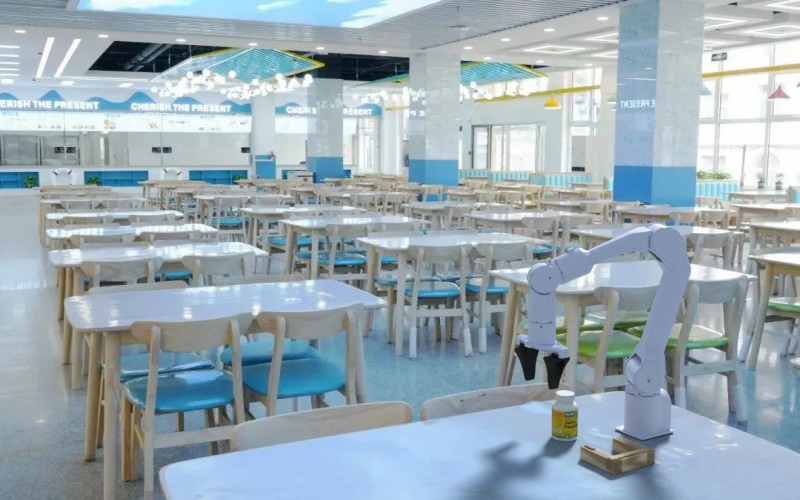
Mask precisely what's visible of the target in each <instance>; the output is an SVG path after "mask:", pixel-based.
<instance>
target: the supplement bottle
mask: <svg viewBox="0 0 800 500" xmlns="http://www.w3.org/2000/svg"><path fill="white" fill-rule="evenodd" d="M554 399H555V401H553V402H552V404H551V437H552V438H553V439H554V440H556V441H559V442H568V443H569V442H573V441H576V440H577V439H578V433H579V432H578V431H579V430H578V427H579V423H578V422H579V406H578V403H576V401H575V399H576V394H575V391H572V390H566V389H565V390H563V389H562V390H557V391H555V392H554Z"/></svg>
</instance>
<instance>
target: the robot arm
mask: <svg viewBox="0 0 800 500" xmlns="http://www.w3.org/2000/svg"><path fill="white" fill-rule="evenodd" d="M687 244H688V243H687V241H686V240H685V238H684V237H683V236H682V235H681V233H680V232H679V231H678V230H677V229H676V228H674V227H671V226H667V225H664V224H663V223H660V222H651V223H648V224H647V225H645V226H639V227H636V228H634V229H631V230H629V231H626V232H623V233H622V234H619V235H618V236H616V237H614V238H612V239H610V240H608V241H605V242H603V243H601V244H599V245H597V246H595V247H592V248H590V249H588V250H586V249H584V248H582V247H577V248H574V247H569V248H567V249H566V251H567V252H566V253H563V254H560V255H558V256H556V257H553V258H551V257H548V258H546V259H545V263H544V262H538V263H535V264H533V265H532V266H531V267H530V268H529V270H528V272H527V274H526V281H527V283H528V285H529V290H528V296H529V297H528V303H527V304H528V305H527V306H528V307H527V308H528V309H527V310H528V313H527V315H528V321H527V323H528V325H527V334H528V335H527V334H517V335H516V338H515V341H516V342H515V344H516V345H518V346H517V347H514V352H515V354H516V356H517V358H518V360H519V362H520V366H521V368H522V369H521V370H522V373H523V377H524V381H526V382H527V381H528V382H529V381H533V380H535V378H536V367H537V361H538V355H539V353H540V352H544V353H547V354H550V355H547V356H546V355H545V356H543V357H542V359H543V362H544V364H545V368H546V369H545V370H546V374H547V387H548V390H551V391H552V390H556V389H557V390H558V389H559V386H560V382H561V379H562V376H563V373H564V371H565V369H566V366H567V364H568V363H569V362H570V360H571V357H570V348H569V347H567V346H564V345H563V344H562V343H560V342H558V341H557V340H556V339H557V338H556V337H557V336H556V335H557V333H556V332H557V299H556V290H557V289H558V288H559V285H562V286H563V285H564V284H567V283H569V282H572V281H575V280H578V279H580V278H582V277H585V276H586V275H589V274H591V272H592V270H593V268H594V266H595V265H597V264H600V263H602V262H605V261H608V260H611V259H613V258H616V257H619V256H622V255H624V254H626V253H630V252H635V253H641V254H642V253H643V254H650V255H651V257H653V258H654V259H655V261H656V263H657V264H658V265H659V267H660V269H661V270H662V274H661V278H660V281H659V284H658V287H657V289H656V293H655V295H654V299H653V302H652V305H651V307H650V311H649V313H648V317H647V320H646V323H645V325H644V329H643V332H642V335H641V338H640V341H639V342H638V344H637V345H636V346H635V347H634V348H633V351H632V353H631V355H630V356H629V357H628V358H627V359H626V361H625V362H624V364H623V370H622V371H623V374H624V376H625V378H626V379H627V383H626V385H625V387H624V407H623V408H624V410H623V412H624V414H623V424H622V425H618V426H615V427H614V430H616V431H619V432H621V433H623V434H626V435H628V436H630V437H633V438H635V439H638V440H642V441H645V440H649V439H653V438H656V437H660V436H664V435H668V434H672V433H674V432H675V431H674V429H672V428H671V427H672V426H671V425H672V423H671V420H672V400H671V397H670V394H669V393H668V392H667V390H665V389H664V388H663V386H664V384H665V383H664V382H665V378H664V377H665V376H664V369H665V366H666V359H665V350H666V347H667V344H668V341H669V338H670V335H671V333H672V330H673V327H674V325H675V324H674V323H675V320H676V318H677V315H678V311H679V308H680V306H681V302H682V300H683V297H684V293H685V291H686V288H687V286H688V282H689V279H690V275H691V271H692V268H691V263H690V260H689V259H690V258H689V255H688V251H687Z"/></svg>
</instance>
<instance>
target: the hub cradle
mask: <svg viewBox="0 0 800 500" xmlns="http://www.w3.org/2000/svg"><path fill="white" fill-rule="evenodd" d="M579 450H580V453H579V455H580V456H579V457H580V458H579V459H580V460H582V461H584V462H586V463H588V464H590V465H592V466H595V467H596V468H598V469H600V470H603V471H606V472H607V473H609V474H612V475H618V474H622V473H625V472H628V471H632V470H635V469H638V468H642V467H646V466H650V465H653V464H655V458H656V457H655V453H656V452H655V451H656V450H655V449H654V448H653V447H651V446H644V445H642V444H640V443H637V442H634V441H633V440H629V439H628V438H626V437H623V436H617V437H613V438H612V451H613V452H614V453H615V452H616V453H618V454H615V455H613V454H610V453H609V452H606V451H603V450H602V449H599V448H598V447H594V446H593V445H590V444H584V445H581V446H580V448H579Z"/></svg>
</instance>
